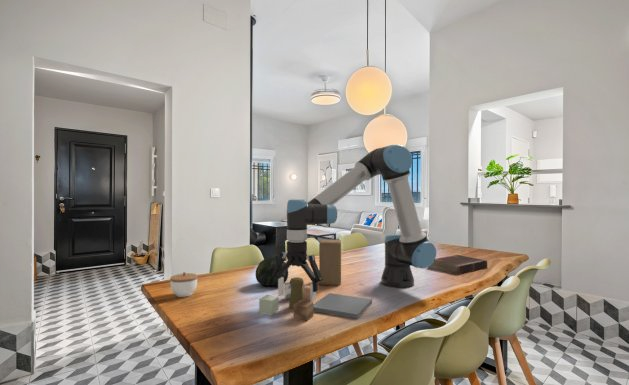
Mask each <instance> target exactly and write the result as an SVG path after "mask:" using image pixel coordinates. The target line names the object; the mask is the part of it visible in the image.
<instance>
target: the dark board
mask: <svg viewBox="0 0 629 385" xmlns="http://www.w3.org/2000/svg"><path fill="white" fill-rule="evenodd" d="M372 304H373V299H372V298H366V297H359V296H352V295H346V294H338V293H331V292H329V293H327V294H326V295H324V296H323V297H322V298H320V299H319V300H317V301H315V302H313V313H314V312H315V313H319V314H320V313H321V314H325V315H326V314H327V315H332V316H339V317H343V318H344V317H345V318H350V319H356V320H358V319H359V318H360V317H361V316H362V315H363V314H364V312H366V311H367V309H368V308H369V307H370V306H371V305H372Z"/></svg>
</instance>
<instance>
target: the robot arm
mask: <svg viewBox="0 0 629 385" xmlns="http://www.w3.org/2000/svg"><path fill="white" fill-rule="evenodd" d="M412 165H413V155H412V153H411V151H410V150H409V149H408V148H407V147H405V146H404V145H402V144H390V145H386V146H383V147H378V148H375V149H373V150H372V151H370V152H368V153H367V154H366V155H365V156H363V157H362V158H360V160H358V161H357V162H356V163H354V167H353V168H351V169H350V170H349V171H347V172H346V173H345V174H343V175H342V176H341V177H339V178H338V179H337V180H336V181H334V182H333V183H331V185H329V186H328V187H326V188H325V189H324V190H322V191H321V192H320V193H319V194H316V196H314V198H312V199H310V200H309V201H308V200H307V199H289V200H288V201H287V203H286V204H287V205H286V240H287V241H286V252H285V251H282V252H280V253H279V260H278V262H277V264H276V266H275V268H274V271H273V273H272V276H275V277H276V278H277V286H276V287H277V297H282V296H283V295H285V283H284V277H282V275H283V274H284V273H285V272H286V271H287V269H288V270H289V268H291V266H292V267H301V269H303V271H304V272H305V273H306V275H307V276H308V279H310V282H311V283H310V285H309V286H310V301H312V302H315V301H316V292H318V288H319V287H318V286H319V284H318V283H319V282H320V281H322V280H323V278H322V276H321V273H320V271H319V266H318V265H317V262H316V258H315V254H310V255H309V254H308V253H307V250H308V241H307V239H308V238H307V237H308V225H328V224H329V225H331V224H332V225H333V224H335V223H336V221H337V219H338V210H337V209H338V208H337V207H336V206H335V205H336V204H337V203H338V202H339V201H341V199H343V198H344V197H346V196H347V195H349V193H350V192H352V191H353V190H354V189H356V188H357V187H358V186H359V185H361V184H362V183H363V182H365V181H370V180H371V179H372V178H374V177H377V176H379V175H381V177H382V181H383V182H385V183H386V184H387V186H388V189H389V190H388V191H389V193H390V197H391V201H392V205H393V209H394V212H395V215H396V220H397V223H398V227H399V230H400V234H387V235H386V236H385V238H384V268H383V271H382V274H381V277H380V279H381V280H380V283H381V284H382V285H384V286H388V287H393V288H409V287H412V286H414V285H415V279H414V278H415V277H414V275H413V272H412V269H411V267H414V268H416V269H423V270H424V269H428V267H429V266H431V265H432V264H433V262H434V260H435V259H437V258H436V257H437V248H436V246H435V244H433V243H432V242H431V241H429V240H428V236H427V233H426V232H424V231H422V228H421V224H420V220H419V216H418V212H417V209H416V205H415V201H414V196H413V194H412V190H411V186H410V182H409V176H410V174H411V170H410V169H411V168H412ZM285 259H287V261H286V262H285ZM283 262H285V263H286V264H285V265H284V267H283V268H282V269H281V270H280V268H281V266H282V264H283ZM308 262H309V263H308ZM309 265H310V266H309ZM279 270H280V272H279ZM281 277H282V278H281ZM314 300H315V301H314Z"/></svg>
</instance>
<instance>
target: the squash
mask: <svg viewBox="0 0 629 385" xmlns="http://www.w3.org/2000/svg"><path fill="white" fill-rule="evenodd" d="M278 260H279V255H278V254H273V255H271V256H269V257H266V258H264V259H262V260H261V261H260V262H259V263H258V265H257V266H256V269H255V279H256V281H257V283H259V285H261V286H264V287H265V286H272V287H277V278H276V277H275V276H272V273H273V271H274V268H275V266H276V264H277V262H278ZM285 264H286V262H285V261H284V262H283V264H282V266H281V268H280V270H281V269H282V268H283V267H284V265H285ZM280 270H279V272H280ZM282 277H284V284H285V283H287V281H288V278H289V268H288V269H287V271H286V272H285V273H284V274H283V275H282ZM282 277H281V278H282Z"/></svg>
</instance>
